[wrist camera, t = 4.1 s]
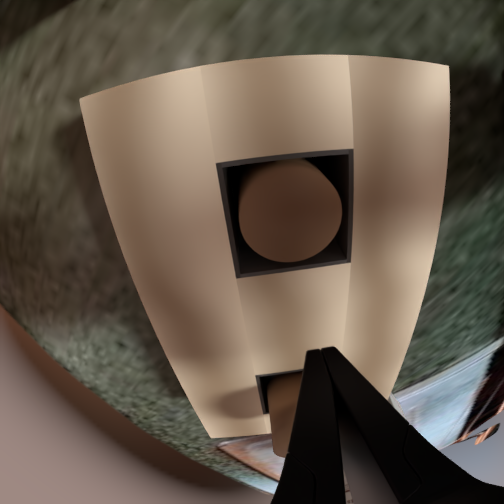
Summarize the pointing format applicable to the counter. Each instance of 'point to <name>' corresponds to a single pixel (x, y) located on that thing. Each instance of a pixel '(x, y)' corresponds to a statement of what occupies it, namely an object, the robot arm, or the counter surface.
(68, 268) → the counter surface
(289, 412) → the peg
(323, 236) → the peg
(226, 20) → the counter surface
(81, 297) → the counter surface
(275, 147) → the block
